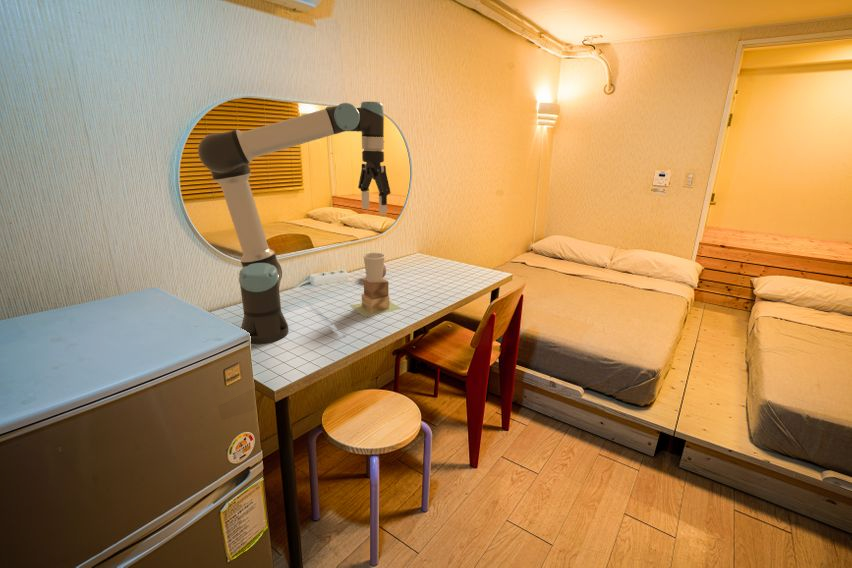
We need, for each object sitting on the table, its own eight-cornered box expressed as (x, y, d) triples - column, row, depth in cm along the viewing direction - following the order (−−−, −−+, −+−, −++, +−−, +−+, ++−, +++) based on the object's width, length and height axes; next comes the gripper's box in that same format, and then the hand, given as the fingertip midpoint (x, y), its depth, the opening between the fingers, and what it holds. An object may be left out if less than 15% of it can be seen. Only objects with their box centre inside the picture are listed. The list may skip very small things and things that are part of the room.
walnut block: (372, 299, 156) (372, 284, 154) (364, 293, 162) (363, 279, 160) (388, 296, 160) (388, 281, 158) (379, 290, 166) (379, 276, 164)
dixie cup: (364, 284, 154) (363, 258, 151) (362, 277, 162) (362, 253, 159) (386, 283, 156) (386, 258, 153) (384, 276, 163) (383, 252, 160)
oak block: (371, 312, 157) (370, 300, 155) (361, 305, 163) (361, 293, 162) (389, 308, 161) (389, 296, 160) (379, 301, 168) (379, 290, 166)
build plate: (364, 319, 153) (364, 316, 153) (349, 308, 163) (349, 305, 163) (401, 311, 162) (401, 308, 162) (385, 301, 172) (385, 298, 172)
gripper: (400, 151, 136) (400, 215, 143) (366, 149, 155) (367, 206, 162) (380, 151, 132) (381, 217, 139) (348, 149, 151) (350, 207, 158)
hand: (374, 211), depth 150 cm, fingers open, 13 cm apart
